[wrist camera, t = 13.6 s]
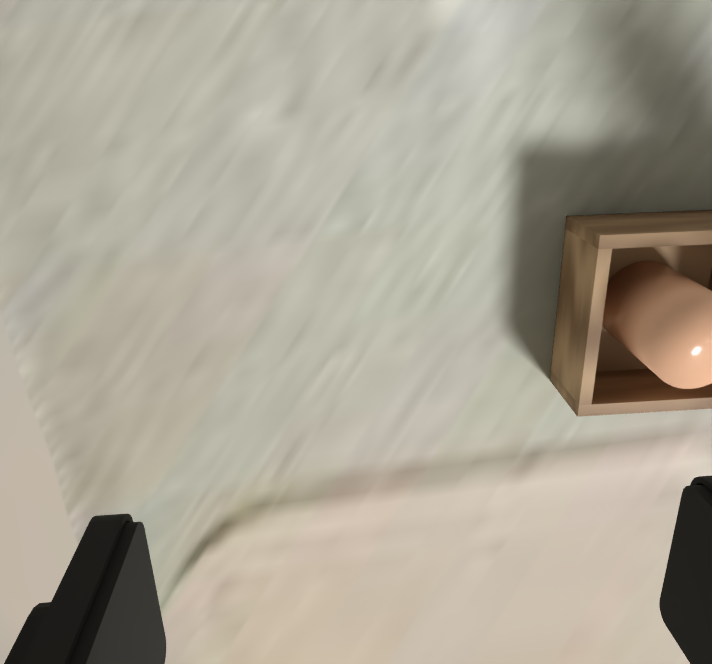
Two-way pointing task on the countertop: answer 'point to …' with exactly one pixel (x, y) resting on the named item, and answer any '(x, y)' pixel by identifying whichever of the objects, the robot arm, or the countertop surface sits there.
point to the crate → (587, 301)
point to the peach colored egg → (662, 322)
